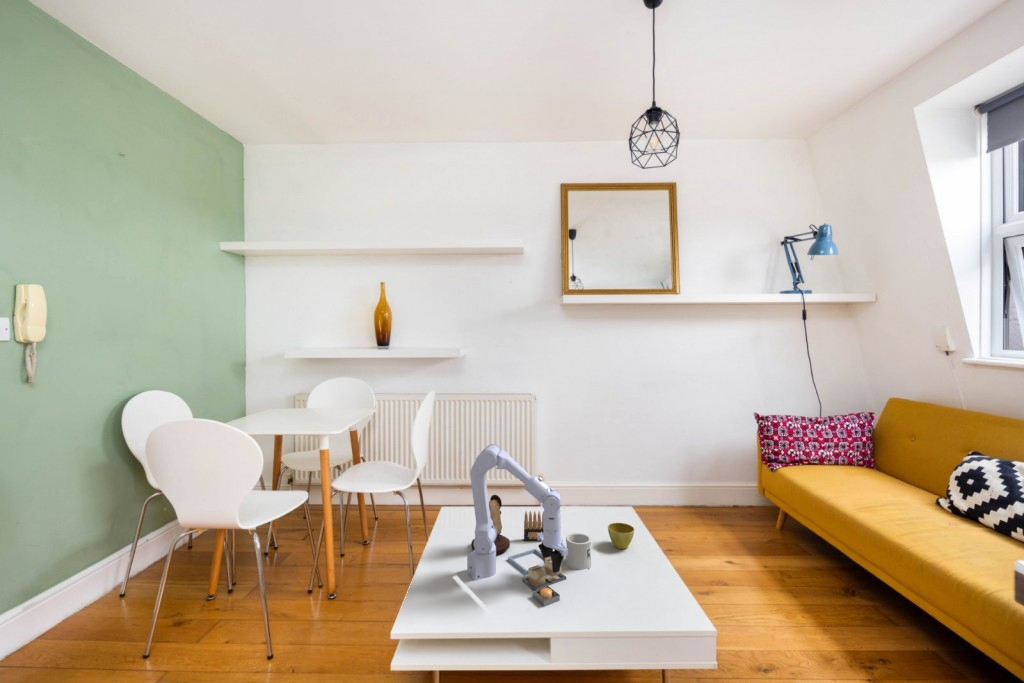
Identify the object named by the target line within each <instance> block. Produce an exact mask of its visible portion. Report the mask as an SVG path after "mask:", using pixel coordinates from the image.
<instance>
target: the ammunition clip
mask: <svg viewBox="0 0 1024 683" xmlns="http://www.w3.org/2000/svg"><path fill="white" fill-rule="evenodd" d="M528 514H529V515H528ZM532 515H533V516H532ZM543 515H544V510H543V511H542V516H541V511H538V513H537V512H536V510H534V512H533V514H532V511H531V510H530V511H529V513H528V512H527V511H525V513H524V521H523V541H524V542H542V541H541V540H540V541H539V540H537V534H540V533H543V534H544V516H543Z"/></svg>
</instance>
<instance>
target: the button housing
mask: <svg viewBox="0 0 1024 683" xmlns="http://www.w3.org/2000/svg"><path fill="white" fill-rule="evenodd" d="M544 588H549V589H551V590H552V596H551V597H548V598H546V599H544V598H543V597H542V596H540V590H541V589H542V588H541V589H538V590H535V591H534V590H533V591H532V593H531V596H532V599H534V600H535V601H536V602H538V604H540V605H541V606H542V607H544V608H545V607H547V606H550V605H553V604H555V603H557V602H560V601H561V595H560V594H559V593H558V592H557V591H555V590H554V588H553V589H552V587H550V585H549V586H546V587H544Z"/></svg>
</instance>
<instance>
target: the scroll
mask: <svg viewBox="0 0 1024 683" xmlns="http://www.w3.org/2000/svg"><path fill="white" fill-rule="evenodd" d="M502 503H503V502H502V499H501V497H500V496H499V495H497V494H492V495H491V496H490V499H489V509H490V517H491V520H492V521H493V526H494V528H495V529H496V531H497V537H496V539H495V540H494V544H495V546H496V555H497V554H501V553H504V552H507V550H508V549H509V548H510V547H511V545H510V544H511V541H510V539H509V538H508V537H507V536H505V535H503V534H502V530H503V524H502V519H501V515H502V511H501V507H502V505H503V504H502ZM474 540H475V537H474V538H473V539H472V540H471V545H470V546H471V550H472V551H474V550H475V548H474Z"/></svg>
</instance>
